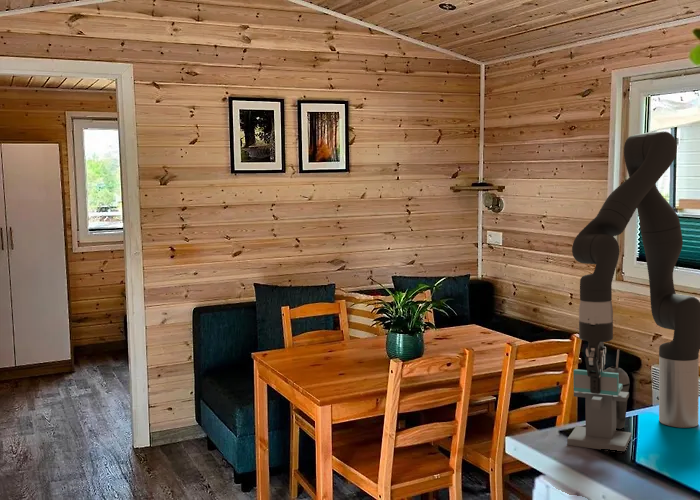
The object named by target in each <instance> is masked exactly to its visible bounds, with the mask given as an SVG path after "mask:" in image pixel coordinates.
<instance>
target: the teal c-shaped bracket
mask: <svg viewBox="0 0 700 500" xmlns="http://www.w3.org/2000/svg"><path fill="white" fill-rule="evenodd" d="M593 372H596V371H593ZM622 388H623V384H619V373H611V372H604V371H603V372H601V392H600V393H599V394H607V395H617V396H618V395H619V393H620V391H621V390H622ZM574 391H579V392H588V393H591V392H590V377H588V375H587V369H577V368H576V369H573V392H574Z"/></svg>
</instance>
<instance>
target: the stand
mask: <svg viewBox="0 0 700 500" xmlns="http://www.w3.org/2000/svg"><path fill="white" fill-rule="evenodd" d="M573 397H576V398H584V400H585V405H584V406H585V426H581V425H576V426H575V428H573V430H572V432H571V433H570V434H569V436H568V437H567V440H566V442H567V443H566V445H567V446H572V447H573V446H574V447H580V448H587V449H588V448H589V449H595V450H601V449H610V450H617V451H625V450H626V451H627V449H628V447H629V445H628V443H629V441H630V439H631V437H632V436H633V435H632V434H633V433H632V432H629V431H622V430H616V401H623V402H626V401H627V402H628V399H629V397H630V392H629V391H628V392H620V393H619V395H618V396H617V395H607V394H594V393H588V392H579V391H574V390H573ZM631 440H632V439H631ZM630 442H631V441H630ZM629 444H630V443H629ZM627 446H628V447H627ZM626 448H627V449H626Z"/></svg>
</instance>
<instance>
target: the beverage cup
mask: <svg viewBox="0 0 700 500" xmlns="http://www.w3.org/2000/svg"><path fill="white" fill-rule="evenodd" d="M619 359H620V349H618V348H617V351H616V361H615V366H610V367H607V368H606V369H605V370H604V371H603V372H611V373H619V384H623V388H622V390H621V391H620V392H629V389H630V385H631V383H630V377H629V376H628V373H627V372H626V371H625V370H624V369H623V368H621V367H619V361H620V360H619ZM627 405H628V400H627V401H626V402H623V401H616V428H623V427H624V428H625V424H626V418H627V417H626V416H627V408H628V406H627Z"/></svg>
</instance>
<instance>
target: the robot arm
mask: <svg viewBox="0 0 700 500" xmlns="http://www.w3.org/2000/svg"><path fill="white" fill-rule="evenodd" d="M623 145H624V146H623V158H624V163H625V166H626V170H627V174H628V178H627V179H626V180H624V181H623V182H622V183H621V184H620V185H618V186H617V187H616V188H614V190H613V191H612V192H611V193H609V195H608V197H607V198H606V199H605V201H604V203H603V204H602V206H601V208H600V210H599V211H598V213H597V214H596V216H595V217H594V218H593V219H592V220H590V222H589V223H588V224H586V226H585V227H584V228H582V229H581V230H580V232H579V233H578V234H577V235H576V237H575V238H574V240H573V242H572V246H571V247H572V248H571V253H572V256H573V258H574V260H575V261H577V262H578V263H581V264H585V265H586V264H587V265H595V268H594V271H593V272H592V273H589V274H585V275H582V276H581V278H580V279H579V306H578V338H579V340H582V341H587V343H588V345H587V347H586V348H585V355H586V356H585V358H584V362H585V367H586V370H587V375H588V377H590V392H591V393H594V394H599V393H600V392H601V372H604V370H606V369H605V367H606V366H605V365H606V355H607V347H606V346H604V345H605V343H606V342H610V341H612V340H613V339H614V311H613V310H614V309H613V299H612V297H613V296H612V295H613V294H612V293H613V292H612V291H613V290H612V289H613V288H612V284H613V281H614V280H613V279H614V275H615V272H616V268H617V264H618V261H619V257H620V245H619V242H618V241H617V239H616V238H615V237H617V236H620V235H621V234H623V232H624V231H625V229H626V227H627V226H628V224H629V222H630V220H631V218H632V217H633V215H634V214H635V212H636V210H637V214H638V220H639V228H640V233H641V239H642V246H643V248H644V253H645V261H646V267H647V273H648V283H649V296H650V297H649V299H650V311H651V314H652V315H651V316H652V318H653V321H654V322H655V324H656V325H657V326H658V327H660V328H663V329H666V330H671V331H672V330H673V337H672V340H671V341H670V342H669V341H668V342H664V343H663V342H662V343H661V344H660V345H659V348H658V359H659V360H658V368H659V369H658V371H659V373H658V377H659V378H658V379H659V380H658V394H659V395H658V400H659V401H658V420H659V422H660V423H661V424H662V425H665V426H669V427H675V428H687V429H688V428H695V427H697V426H699V388H700V387H699V386H700V385H699V384H700V383H699V379H700V378H699V356H700V355H699V353H700V300H699V299H698V298H697V297H695V296H692V295H691V296H690V295H684V294H679V293H676V289H675V285H674V269H675V267H676V265H677V262H678V259H679V257H680V254H681V252H682V250H683V242H684V241H683V233H682V228H681V221H680V218H679V216H678V214H677V212H676V211H675V209H674V208H673V207H672V205H671V204H670V203H669V202H668V201H667V199H666V198H665V197H664V196H663V195H662V194H661V192H660V191H659V189H658V187H657V185H656V183H658V181H659V180H660V179H661V178H662V176H663V175H664V174H665V173H666V172H667V170H668V169H669V168H670V166H671V165H672V164H673V162H674V161H675V158H676V156H677V151H678V145H677V142H676V139H675V137H674V136H673V134H672V133H670V132H668V131H666V130H665V131H664V130H658V131H657V130H656V131H650V132H649V131H648V132H643V133H637V134H632V135H629V136H627V138H626V140H625V142H624V144H623ZM593 371H596V372H593Z"/></svg>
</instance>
